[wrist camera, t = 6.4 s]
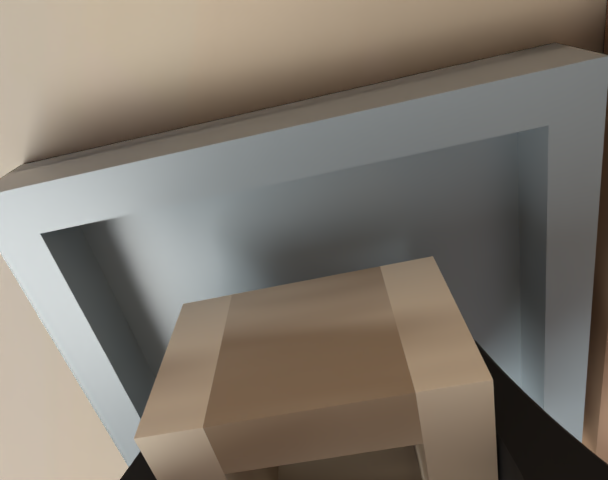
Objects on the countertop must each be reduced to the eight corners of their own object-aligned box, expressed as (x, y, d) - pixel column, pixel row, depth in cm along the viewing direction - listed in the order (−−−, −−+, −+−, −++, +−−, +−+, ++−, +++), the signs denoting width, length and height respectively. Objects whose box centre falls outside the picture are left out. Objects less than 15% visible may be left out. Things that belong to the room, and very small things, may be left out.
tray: (546, 434, 15) (578, 492, 14) (190, 488, 17) (177, 548, 15) (554, 42, 10) (609, 55, 8) (21, 165, 11) (-32, 199, 9)
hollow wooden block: (452, 433, 12) (503, 582, 9) (249, 464, 13) (234, 616, 10) (432, 256, 10) (493, 380, 7) (182, 303, 10) (133, 438, 7)
